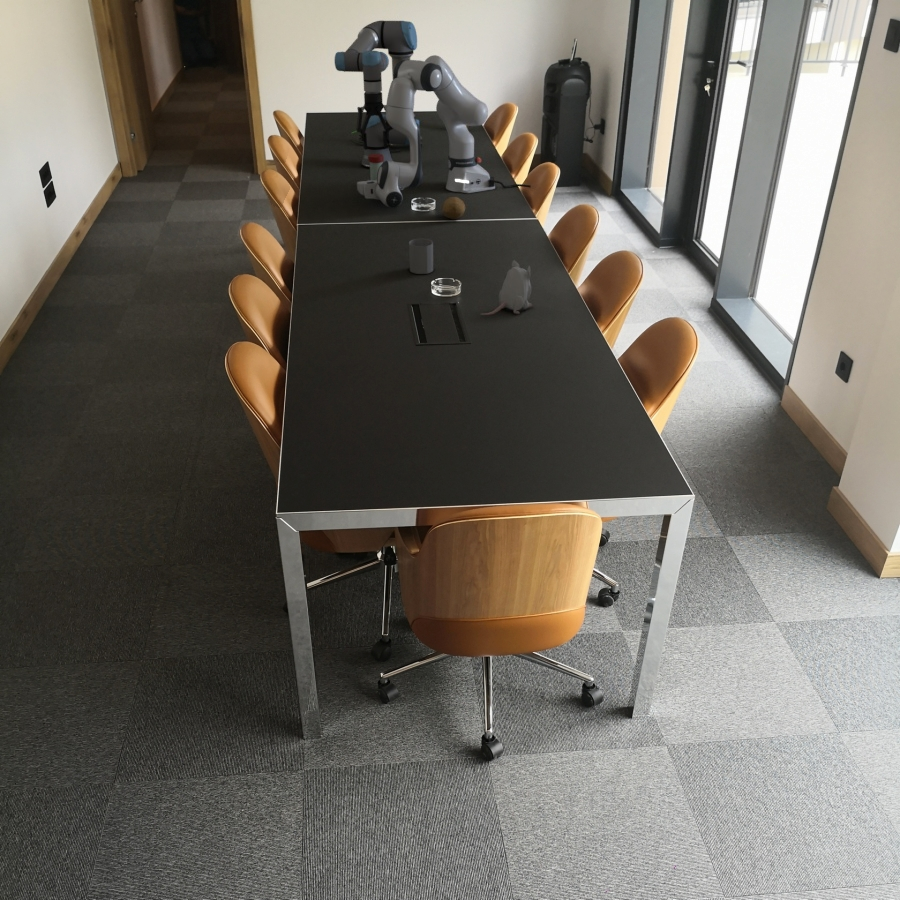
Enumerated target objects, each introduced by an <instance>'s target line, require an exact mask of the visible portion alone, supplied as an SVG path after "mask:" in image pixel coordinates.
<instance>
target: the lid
mask: <svg viewBox="0 0 900 900" xmlns="http://www.w3.org/2000/svg"><path fill="white" fill-rule="evenodd" d="M369 162H371V163H381V162H383V155H382V154H371V155H369Z"/></svg>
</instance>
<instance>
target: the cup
mask: <svg viewBox="0 0 900 900" xmlns="http://www.w3.org/2000/svg"><path fill="white" fill-rule="evenodd" d="M408 253H409V272H411V273H412V274H416V275H426V274H430V273H432V272H434V241H433V240H431V239H428V238H422V237H421V238H420V237H419V238H414V239H411V240H410V241H409V242H408Z"/></svg>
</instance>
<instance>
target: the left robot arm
mask: <svg viewBox="0 0 900 900" xmlns="http://www.w3.org/2000/svg"><path fill="white" fill-rule="evenodd" d="M417 48H418V36H417V29H416V27H415V25H414V23H413V22H412V21H407V20H406V21H405V20H376V21H373V22H371V23H368V24H366V25H365V26H363V28H361V29H360V31H359V32H358V34H357V38H356V39H354V41H353V42H352V43H351V45H349V46H348V48H347V49H346V50H345V51H338V52H336V53H335V55H334V67H335V69H336V71H337V72H344V73H346V72H347V73H362V76H363V77H362V78H363V79H362V80H363V91H364V93H363V99H364V100H363V101H364V105H363V106H357V118H356V119H357V121H356V128H355V129H356V130H355V131H357V132H356V133H360V134H361V140H360V141H361V142H362V143H364V145H363V149H364V151H363V155H362V159H361V166H362V167H363V168H366V169H370V162H369V155H371V154H382V155H383V162H385V161H394V160H393V158H392V155H391V153H400V152H401V149H395V150H394V149H393V150H390V147H389V145H403V146H404V145H405V146H410V142H409V139H408V138H407V137H406V136H405V135H404V134H402V133H400V132H398V131H397V130H395V129H394V128H392V127H391V126H390V125H389V123H388V122H387V120H386V104H384V103H383V83H382V73H383V72H384V71H386V70H387V68H388V67H389V64H390V60H389V57H388V56H390V58H391V69H392V70H391V71H392V73H391V75H392V81H393V80H394V77H393V73H394V68H395V66H396V64H397V63H398V62H399V61H400V60H404V59H409V60H411V57H412V56H413V55H414V51H416V50H417ZM376 49H377V50H376ZM378 49H381V50H387V53H385V52H383V51H379V50H378ZM387 54H388V55H387ZM383 110H384V112H385V113H382V111H383ZM364 112H365V117H364V119H363V114H364ZM413 115H414V119H415V122H416V123H417V124H418V125H419V126H420V120H419V119H417V118H416V114H415V113H414V112H413Z"/></svg>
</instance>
